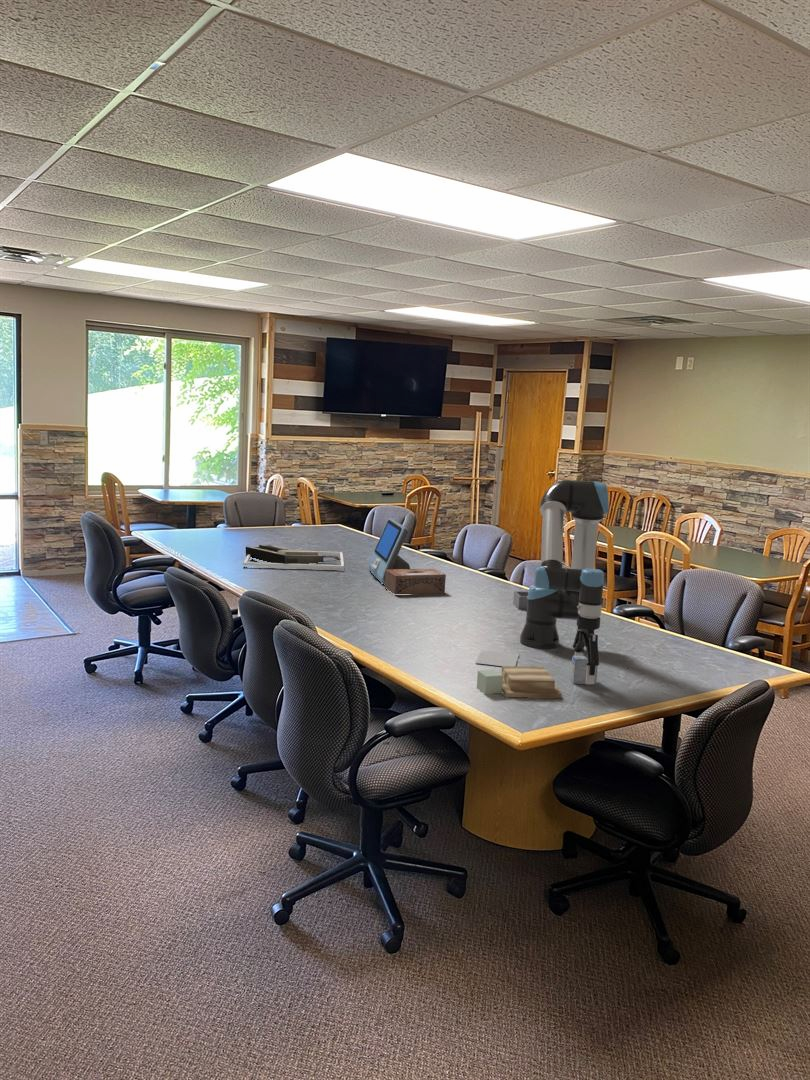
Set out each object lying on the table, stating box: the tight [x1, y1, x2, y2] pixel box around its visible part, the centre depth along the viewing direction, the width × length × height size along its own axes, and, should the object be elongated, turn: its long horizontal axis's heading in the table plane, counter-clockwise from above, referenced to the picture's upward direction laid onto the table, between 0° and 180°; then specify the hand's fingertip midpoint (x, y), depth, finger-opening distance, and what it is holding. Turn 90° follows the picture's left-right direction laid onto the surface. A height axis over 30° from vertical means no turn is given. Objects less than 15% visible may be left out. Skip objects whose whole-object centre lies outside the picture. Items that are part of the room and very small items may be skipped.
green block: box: [476, 669, 503, 695], centre depth 262 cm, size 6×6×6 cm
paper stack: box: [475, 649, 520, 667], centre depth 291 cm, size 23×25×1 cm
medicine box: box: [569, 655, 599, 685], centre depth 275 cm, size 8×4×9 cm, turn 92°
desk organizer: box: [512, 590, 529, 611], centre depth 380 cm, size 11×21×6 cm, turn 95°
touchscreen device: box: [368, 517, 411, 585], centre depth 426 cm, size 35×20×30 cm, turn 14°
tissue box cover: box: [384, 568, 447, 595], centre depth 399 cm, size 26×14×10 cm, turn 110°
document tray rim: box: [243, 550, 345, 570], centre depth 457 cm, size 42×53×3 cm
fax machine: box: [245, 544, 341, 564], centre depth 457 cm, size 45×34×10 cm
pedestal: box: [501, 666, 563, 699], centre depth 266 cm, size 18×18×5 cm
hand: (583, 677), depth 275 cm, fingers open, 13 cm apart
